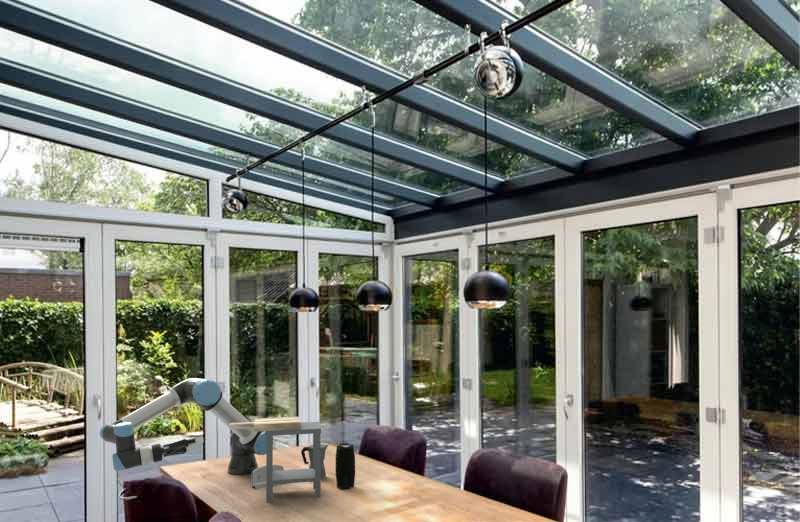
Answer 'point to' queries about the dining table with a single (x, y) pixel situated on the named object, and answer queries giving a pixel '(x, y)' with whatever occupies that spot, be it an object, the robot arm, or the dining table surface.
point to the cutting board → (269, 424)
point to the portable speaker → (345, 466)
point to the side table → (296, 474)
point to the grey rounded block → (262, 476)
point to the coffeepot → (310, 451)
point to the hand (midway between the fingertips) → (202, 442)
